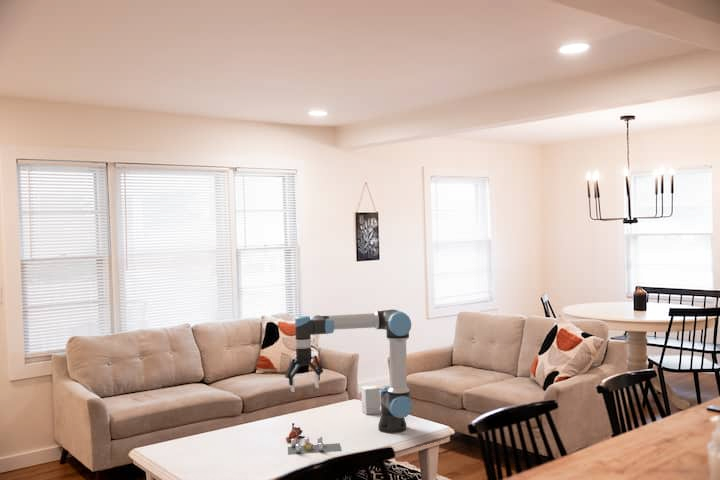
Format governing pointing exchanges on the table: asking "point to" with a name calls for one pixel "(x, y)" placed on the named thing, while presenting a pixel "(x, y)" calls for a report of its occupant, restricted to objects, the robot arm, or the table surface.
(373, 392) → the supplement box
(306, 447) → the nut
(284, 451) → the table surface
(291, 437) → the figurine
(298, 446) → the spacer field
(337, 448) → the mat
